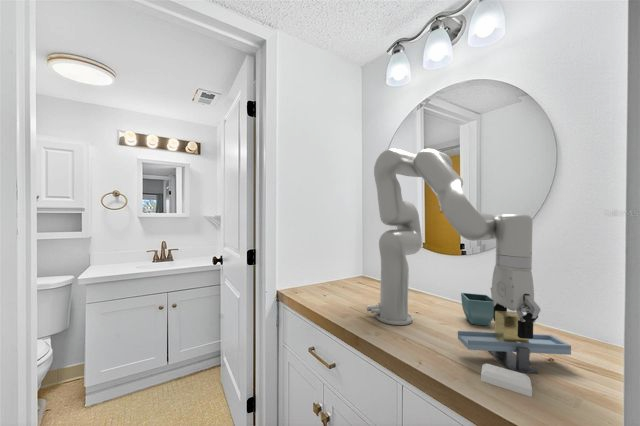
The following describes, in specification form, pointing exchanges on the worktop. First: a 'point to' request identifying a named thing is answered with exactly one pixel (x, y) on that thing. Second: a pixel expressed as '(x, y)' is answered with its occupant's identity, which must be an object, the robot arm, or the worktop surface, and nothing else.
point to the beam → (513, 343)
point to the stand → (515, 360)
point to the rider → (507, 326)
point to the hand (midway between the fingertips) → (511, 329)
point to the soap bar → (506, 379)
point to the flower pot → (478, 308)
